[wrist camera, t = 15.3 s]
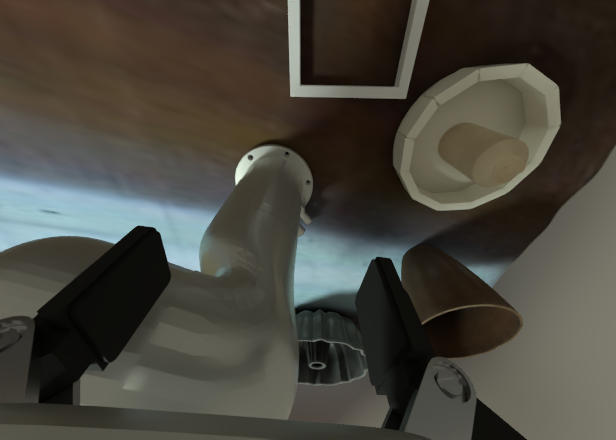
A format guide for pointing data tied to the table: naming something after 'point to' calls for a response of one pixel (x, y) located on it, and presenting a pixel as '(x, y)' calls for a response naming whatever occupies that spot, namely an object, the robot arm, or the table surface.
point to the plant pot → (456, 305)
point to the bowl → (481, 111)
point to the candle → (483, 154)
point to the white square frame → (344, 91)
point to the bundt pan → (329, 349)
